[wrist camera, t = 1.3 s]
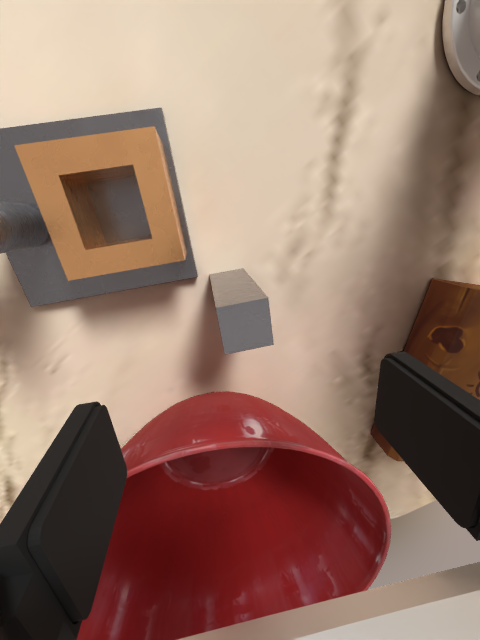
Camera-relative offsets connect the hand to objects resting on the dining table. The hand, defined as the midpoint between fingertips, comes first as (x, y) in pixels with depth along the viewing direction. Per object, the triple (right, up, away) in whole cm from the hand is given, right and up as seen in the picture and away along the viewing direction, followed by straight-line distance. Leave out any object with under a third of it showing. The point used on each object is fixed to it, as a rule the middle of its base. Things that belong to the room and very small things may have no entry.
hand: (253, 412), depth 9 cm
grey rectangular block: (-2, +7, +20) cm, 21 cm away
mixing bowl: (-4, -13, +27) cm, 30 cm away
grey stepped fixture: (-18, +12, +15) cm, 27 cm away
